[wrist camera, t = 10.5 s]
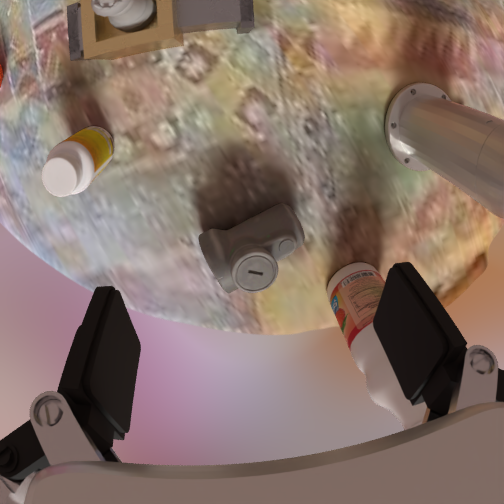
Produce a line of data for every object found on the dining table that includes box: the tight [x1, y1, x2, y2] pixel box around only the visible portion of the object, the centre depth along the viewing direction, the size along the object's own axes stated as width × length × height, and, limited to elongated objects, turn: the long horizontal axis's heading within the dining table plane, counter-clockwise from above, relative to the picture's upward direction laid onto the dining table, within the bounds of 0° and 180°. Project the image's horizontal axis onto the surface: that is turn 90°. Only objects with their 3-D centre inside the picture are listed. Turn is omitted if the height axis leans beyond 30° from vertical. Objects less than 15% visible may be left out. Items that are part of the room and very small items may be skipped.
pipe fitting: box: [199, 203, 305, 293], centre depth 37 cm, size 12×8×10 cm
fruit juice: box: [327, 262, 427, 430], centre depth 37 cm, size 9×9×28 cm
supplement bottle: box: [42, 126, 114, 197], centre depth 27 cm, size 6×6×10 cm
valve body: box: [67, 0, 254, 61], centre depth 21 cm, size 18×8×8 cm, turn 93°
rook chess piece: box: [91, 0, 157, 32], centre depth 16 cm, size 4×4×8 cm
